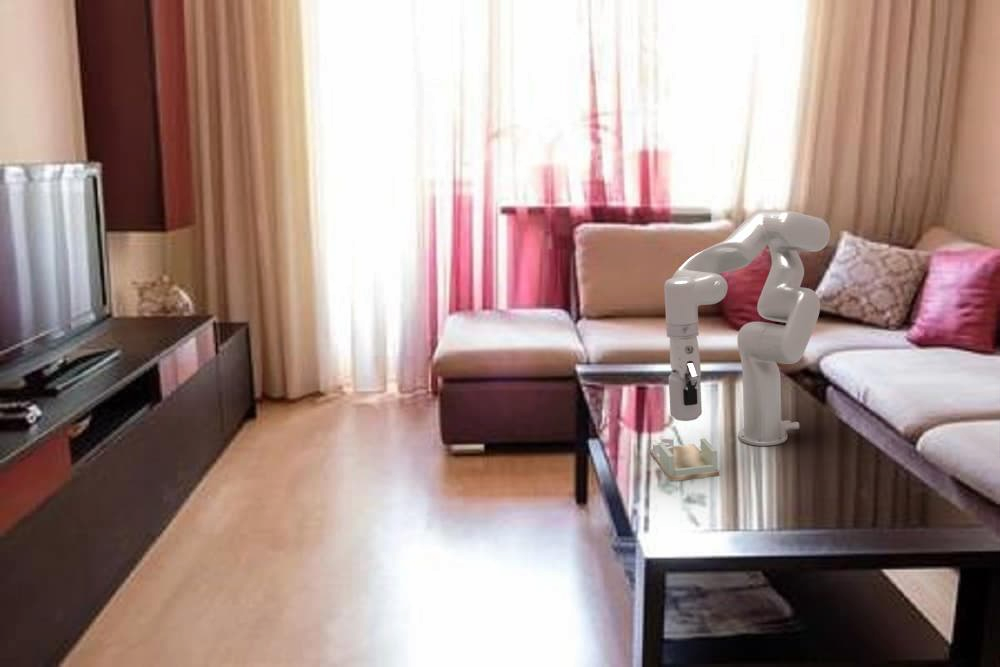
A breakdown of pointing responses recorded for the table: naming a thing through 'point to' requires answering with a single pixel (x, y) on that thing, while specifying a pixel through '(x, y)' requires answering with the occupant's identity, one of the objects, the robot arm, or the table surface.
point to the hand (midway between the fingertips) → (685, 399)
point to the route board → (686, 462)
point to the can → (677, 399)
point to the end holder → (706, 454)
